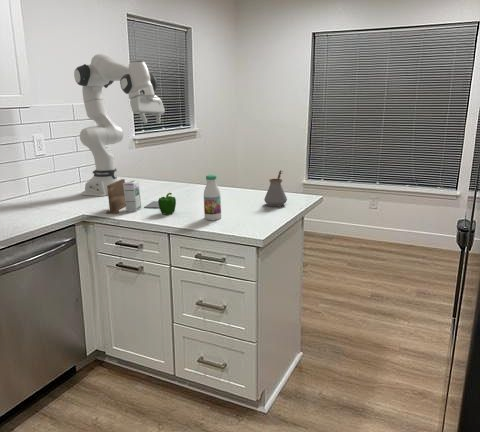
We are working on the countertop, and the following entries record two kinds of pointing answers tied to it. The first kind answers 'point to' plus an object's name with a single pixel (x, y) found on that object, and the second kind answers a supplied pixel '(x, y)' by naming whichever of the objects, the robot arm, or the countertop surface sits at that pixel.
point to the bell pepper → (167, 204)
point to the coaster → (152, 205)
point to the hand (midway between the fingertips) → (152, 122)
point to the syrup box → (132, 195)
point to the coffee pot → (275, 193)
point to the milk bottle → (212, 199)
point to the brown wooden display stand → (116, 197)
